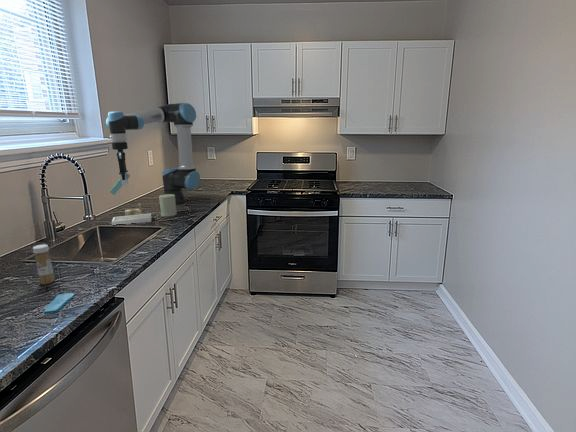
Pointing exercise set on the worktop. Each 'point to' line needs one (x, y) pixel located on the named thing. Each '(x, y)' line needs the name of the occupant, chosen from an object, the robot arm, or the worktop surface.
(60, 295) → the sponge
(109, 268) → the worktop surface
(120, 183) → the bar
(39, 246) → the sprinkles bottle
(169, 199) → the can
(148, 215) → the tray
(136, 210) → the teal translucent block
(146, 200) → the worktop surface
